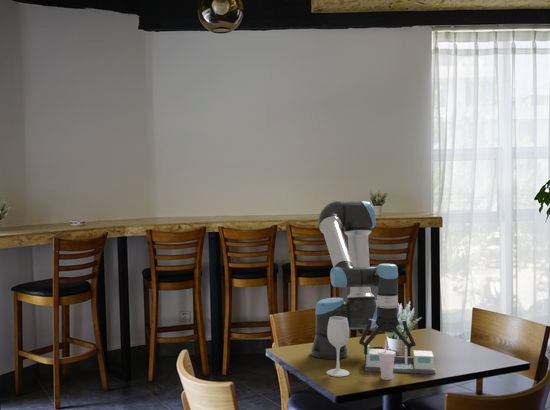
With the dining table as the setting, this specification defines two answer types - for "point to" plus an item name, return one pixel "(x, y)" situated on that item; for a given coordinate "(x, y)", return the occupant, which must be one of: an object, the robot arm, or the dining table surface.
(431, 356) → the mounted modules
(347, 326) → the wineglass
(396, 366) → the rail plate
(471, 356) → the dining table surface
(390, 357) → the smoothie
